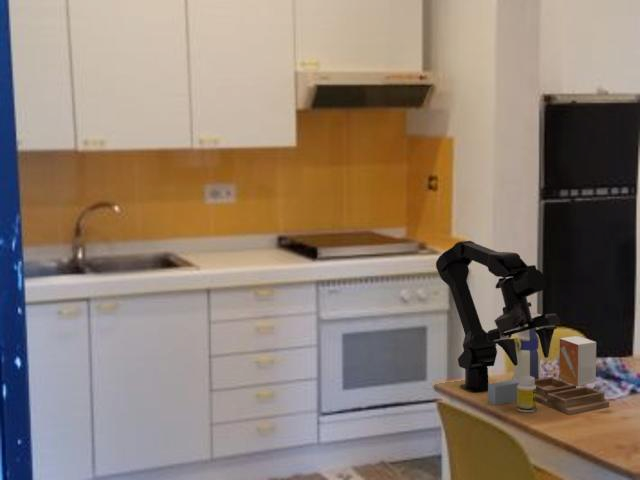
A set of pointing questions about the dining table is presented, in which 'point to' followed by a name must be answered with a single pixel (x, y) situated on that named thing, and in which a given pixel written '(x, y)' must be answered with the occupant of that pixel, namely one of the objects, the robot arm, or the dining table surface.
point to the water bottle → (527, 353)
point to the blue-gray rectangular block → (502, 392)
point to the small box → (577, 360)
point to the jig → (568, 396)
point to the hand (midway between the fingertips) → (530, 361)
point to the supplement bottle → (526, 394)
